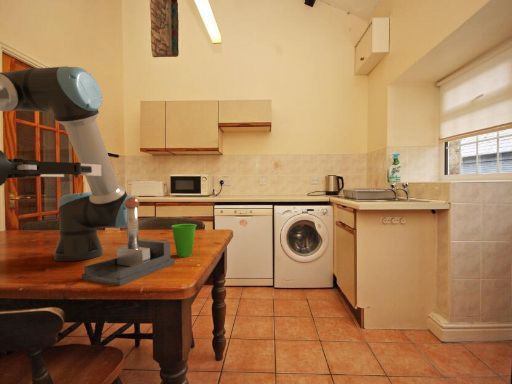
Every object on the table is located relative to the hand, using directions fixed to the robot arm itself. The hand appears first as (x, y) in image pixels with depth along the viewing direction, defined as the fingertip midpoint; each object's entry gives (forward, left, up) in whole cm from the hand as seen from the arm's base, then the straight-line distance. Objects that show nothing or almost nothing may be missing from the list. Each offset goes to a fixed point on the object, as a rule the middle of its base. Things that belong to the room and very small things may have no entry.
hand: (81, 171), depth 72 cm
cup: (-20, +29, -30) cm, 46 cm away
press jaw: (-8, +12, -28) cm, 31 cm away
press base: (-8, +11, -30) cm, 33 cm away
